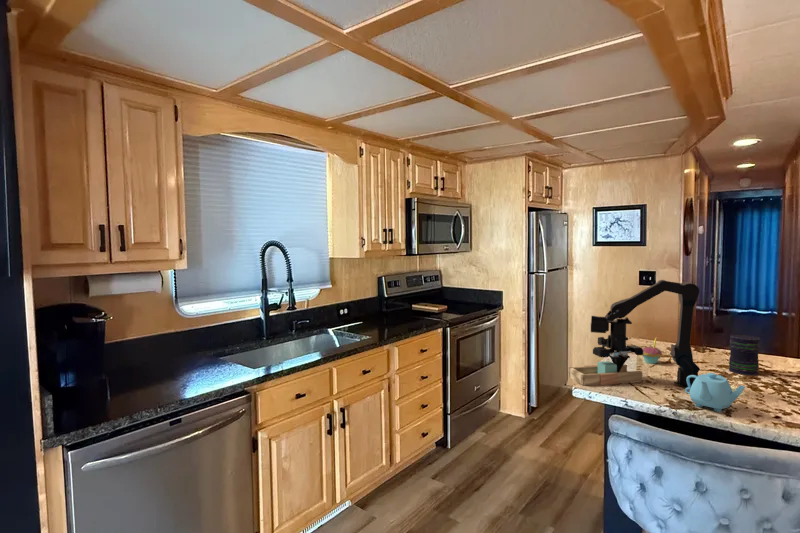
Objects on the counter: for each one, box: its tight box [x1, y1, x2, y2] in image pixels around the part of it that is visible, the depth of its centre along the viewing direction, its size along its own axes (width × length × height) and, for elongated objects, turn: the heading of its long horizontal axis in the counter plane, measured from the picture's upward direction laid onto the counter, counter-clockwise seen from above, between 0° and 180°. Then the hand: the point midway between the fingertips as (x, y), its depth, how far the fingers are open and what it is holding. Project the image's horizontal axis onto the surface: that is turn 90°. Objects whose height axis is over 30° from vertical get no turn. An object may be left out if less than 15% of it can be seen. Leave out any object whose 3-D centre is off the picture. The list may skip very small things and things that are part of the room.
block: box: [597, 361, 617, 373], centre depth 175 cm, size 5×5×5 cm
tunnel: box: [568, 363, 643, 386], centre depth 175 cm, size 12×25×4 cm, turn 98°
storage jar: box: [728, 333, 761, 376], centre depth 183 cm, size 10×10×15 cm
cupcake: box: [641, 337, 663, 365], centre depth 198 cm, size 9×8×12 cm
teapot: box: [684, 372, 746, 413], centre depth 147 cm, size 15×14×11 cm
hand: (617, 371), depth 176 cm, fingers closed
